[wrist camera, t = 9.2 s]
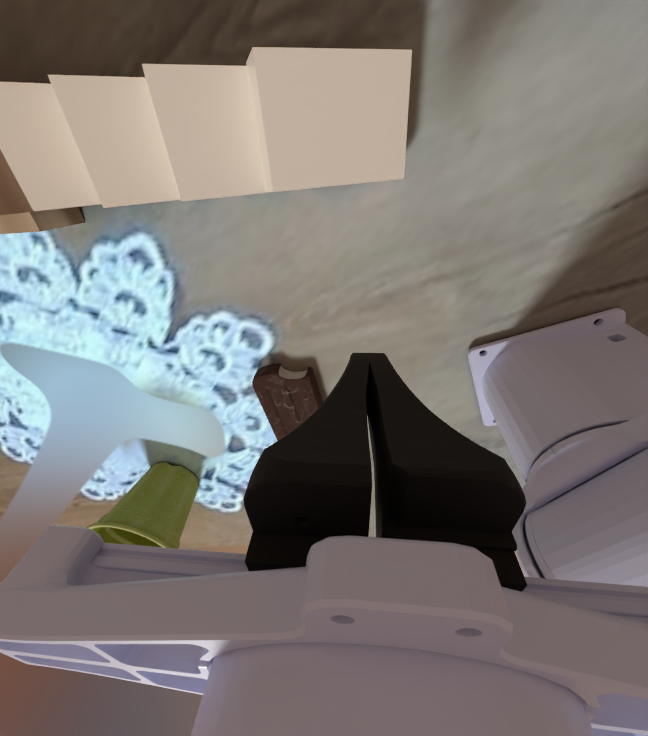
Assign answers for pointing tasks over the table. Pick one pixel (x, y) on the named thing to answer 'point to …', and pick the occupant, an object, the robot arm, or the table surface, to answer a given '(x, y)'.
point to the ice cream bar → (286, 397)
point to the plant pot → (151, 509)
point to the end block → (40, 220)
